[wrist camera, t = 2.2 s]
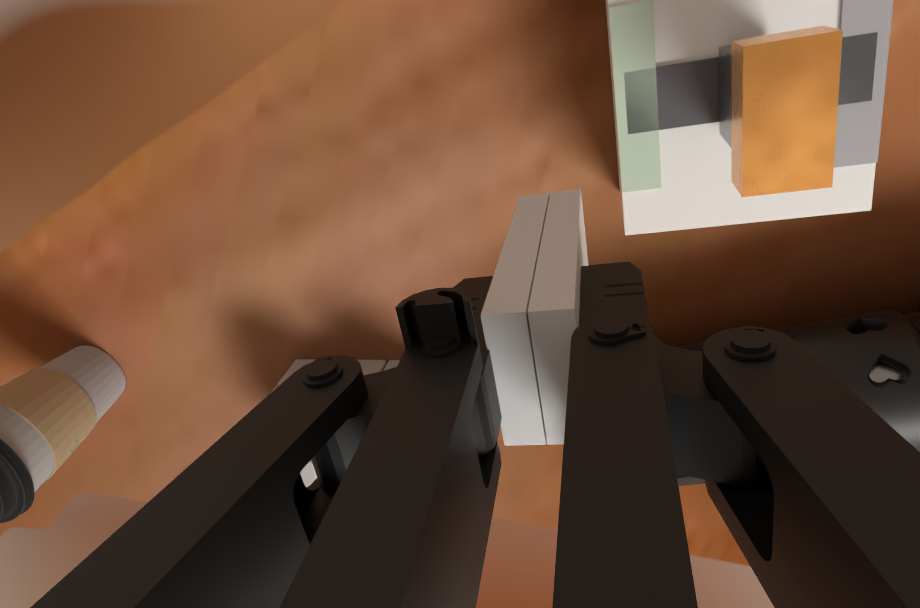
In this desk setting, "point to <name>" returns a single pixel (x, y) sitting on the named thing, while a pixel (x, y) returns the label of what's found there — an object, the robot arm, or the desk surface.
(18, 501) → the coffee cup
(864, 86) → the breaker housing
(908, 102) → the desk surface
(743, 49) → the breaker toggle
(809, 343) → the muzzle brake
